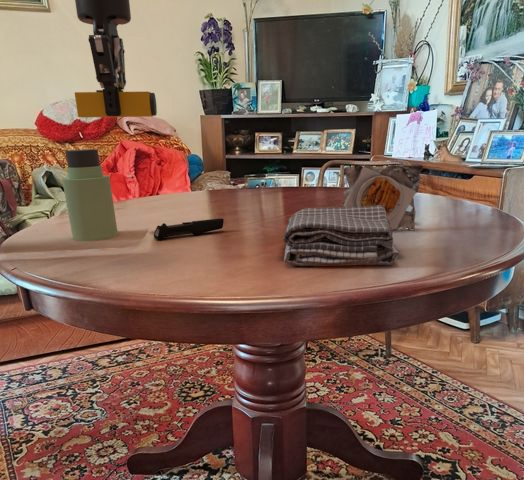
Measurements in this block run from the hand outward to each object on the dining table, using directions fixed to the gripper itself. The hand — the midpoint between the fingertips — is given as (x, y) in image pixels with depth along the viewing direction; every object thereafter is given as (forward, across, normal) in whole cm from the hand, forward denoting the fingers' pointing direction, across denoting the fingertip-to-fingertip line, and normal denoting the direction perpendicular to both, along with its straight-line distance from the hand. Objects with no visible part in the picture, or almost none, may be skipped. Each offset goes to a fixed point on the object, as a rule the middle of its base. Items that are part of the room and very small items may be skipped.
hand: (116, 115), depth 79 cm
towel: (+23, +3, +36) cm, 43 cm away
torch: (0, 0, 0) cm, 0 cm away
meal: (+23, -18, +48) cm, 56 cm away
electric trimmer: (+24, -23, +8) cm, 34 cm away
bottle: (+24, -20, -11) cm, 33 cm away
